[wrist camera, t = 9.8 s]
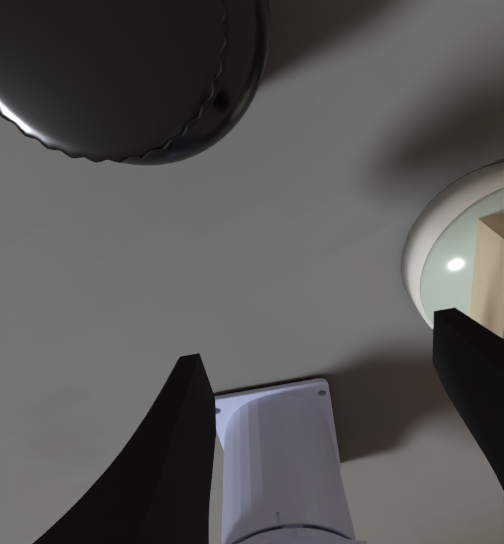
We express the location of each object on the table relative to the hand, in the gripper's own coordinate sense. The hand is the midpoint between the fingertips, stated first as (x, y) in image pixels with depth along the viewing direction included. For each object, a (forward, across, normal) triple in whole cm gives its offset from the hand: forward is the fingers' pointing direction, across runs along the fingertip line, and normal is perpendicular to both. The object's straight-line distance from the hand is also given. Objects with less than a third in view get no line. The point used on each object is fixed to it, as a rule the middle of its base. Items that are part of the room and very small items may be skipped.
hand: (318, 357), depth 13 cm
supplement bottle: (+11, +3, -10) cm, 15 cm away
